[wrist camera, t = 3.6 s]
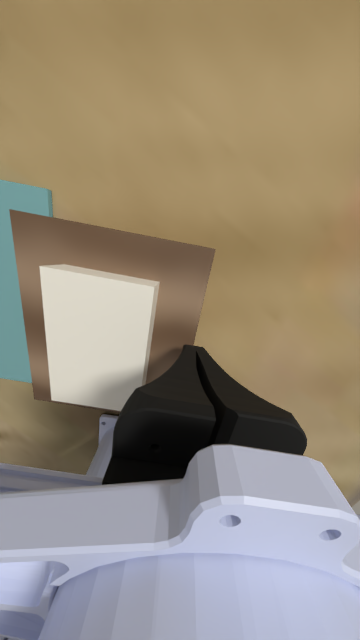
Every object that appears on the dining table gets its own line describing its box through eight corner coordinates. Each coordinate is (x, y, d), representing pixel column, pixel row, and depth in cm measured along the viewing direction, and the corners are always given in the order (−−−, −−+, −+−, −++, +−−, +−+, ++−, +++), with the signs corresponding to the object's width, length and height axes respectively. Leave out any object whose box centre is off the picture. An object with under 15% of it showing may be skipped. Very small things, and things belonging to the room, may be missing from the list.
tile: (144, 393, 14) (138, 413, 12) (69, 381, 14) (51, 400, 12) (159, 281, 11) (154, 287, 9) (64, 264, 11) (39, 265, 9)
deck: (177, 388, 19) (175, 421, 15) (64, 370, 19) (34, 399, 15) (207, 251, 14) (215, 249, 10) (56, 221, 14) (9, 208, 10)
